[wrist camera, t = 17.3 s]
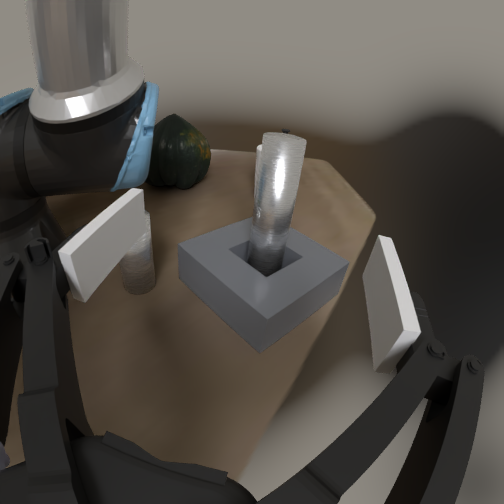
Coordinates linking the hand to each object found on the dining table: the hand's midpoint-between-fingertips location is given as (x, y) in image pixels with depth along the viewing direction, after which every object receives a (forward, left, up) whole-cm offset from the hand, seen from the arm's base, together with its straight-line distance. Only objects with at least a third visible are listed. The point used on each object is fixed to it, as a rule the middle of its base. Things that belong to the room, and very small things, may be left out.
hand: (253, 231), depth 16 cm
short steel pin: (-17, 0, -16) cm, 23 cm away
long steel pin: (-8, +11, -16) cm, 21 cm away
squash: (-42, +19, -16) cm, 49 cm away
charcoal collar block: (-8, +11, -16) cm, 21 cm away
